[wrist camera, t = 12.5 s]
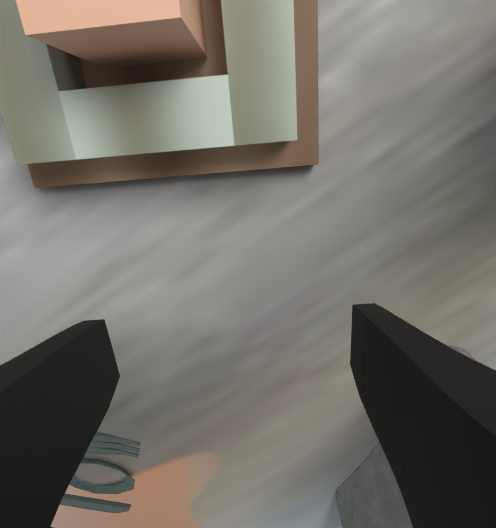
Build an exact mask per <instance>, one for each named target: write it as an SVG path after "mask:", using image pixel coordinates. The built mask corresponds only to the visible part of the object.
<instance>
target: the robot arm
mask: <svg viewBox="0 0 496 528" xmlns="http://www.w3.org/2000/svg"><path fill="white" fill-rule="evenodd" d="M350 365H351V368H352V372H353V376H354V379H355V383H356V386H357V389H358V392H359V396H360V398H361V401H362V403H363V405H364V408H365V410H366V412H367V415H368V417H369V419H370V422H371V424H372V426H373V428H374V431H375V433H376V435H377V437H378V440H379V442H380V444H381V447H382V449H383V451H384V453H385V456H386V458H387V460H388V462H389V465H390V467H391V469H392V471H393V474H394V476H395V479H396V481H397V484H398V486H399V489H400V491H401V494H402V497H403V500H404V503H405V506H406V509H407V511H408V514H409V517H410V520H411V523H412V526H413V528H496V370H493V369H491V368H489V367H487V366H485V365H483V364H481V363H479V362H477V361H475V360H473V359H471V358H469V357H467V356H465V355H463V354H462V353H460V352H458V351H456V350H454V349H452V348H450V347H448V346H447V345H445V344H443V343H441V342H439V341H438V340H436V339H434V338H432V337H431V336H429V335H427V334H426V333H424V332H422V331H420V330H419V329H417V328H415V327H414V326H412V325H411V324H409V323H407V322H406V321H404V320H402V319H401V318H399V317H397V316H396V315H394V314H393V313H391V312H389V311H388V310H386V309H384V308H382V307H381V306H379V305H377V304H375V303H374V304H357V305H353V308H352V334H351V359H350ZM119 377H120V375H119V371H118V367H117V364H116V360H115V356H114V353H113V349H112V345H111V342H110V338H109V334H108V331H107V327H106V323H105V320H88V321H83V322H80V323H78V324H76V325H73V326H71V327H69V328H67V329H66V330H64V331H62V332H60V333H58V334H56V335H54V336H53V337H51V338H49V339H47V340H46V341H44V342H42V343H40V344H38V345H37V346H35V347H33V348H31V349H30V350H28V351H26V352H24V353H22V354H21V355H19V356H17V357H15V358H14V359H12V360H10V361H8V362H6V363H4V364H2V365H1V366H0V528H50V526H51V523H52V521H53V519H54V516H55V514H56V511H57V509H58V507H59V504H60V502H61V500H62V498H63V496H64V494H65V492H66V490H67V488H68V485H69V484H70V482H71V480H72V478H73V476H74V474H75V472H76V470H77V468H78V466H79V464H80V463H81V461H82V459H83V457H84V455H85V453H86V451H87V449H88V447H89V445H90V443H91V441H92V440H93V438H94V436H95V434H96V432H97V430H98V428H99V426H100V424H101V422H102V420H103V418H104V416H105V414H106V412H107V410H108V408H109V405H110V403H111V400H112V397H113V395H114V392H115V389H116V386H117V383H118V380H119Z"/></svg>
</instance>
